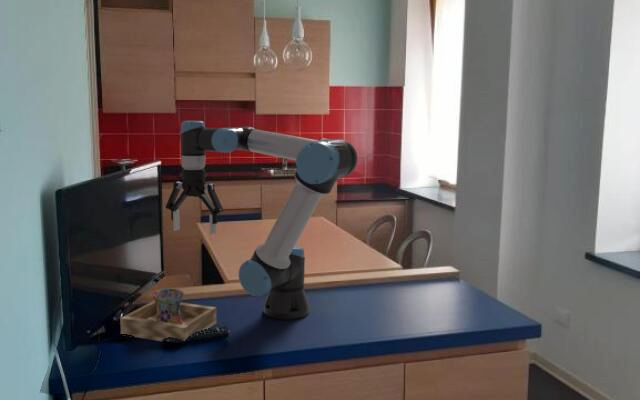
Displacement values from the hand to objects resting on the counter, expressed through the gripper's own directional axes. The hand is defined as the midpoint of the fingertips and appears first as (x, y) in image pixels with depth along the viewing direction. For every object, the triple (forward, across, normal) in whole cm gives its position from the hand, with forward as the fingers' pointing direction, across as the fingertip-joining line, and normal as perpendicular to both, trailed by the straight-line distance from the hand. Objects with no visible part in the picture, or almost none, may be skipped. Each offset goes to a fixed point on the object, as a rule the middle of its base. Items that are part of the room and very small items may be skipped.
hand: (194, 231), depth 201 cm
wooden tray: (+27, -2, +19) cm, 33 cm away
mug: (+26, -2, +19) cm, 32 cm away
